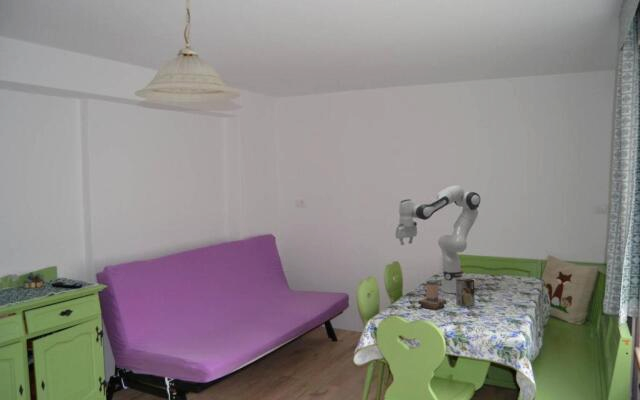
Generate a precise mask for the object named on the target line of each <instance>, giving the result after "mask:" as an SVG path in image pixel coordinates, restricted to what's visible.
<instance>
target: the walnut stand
mask: <svg viewBox="0 0 640 400" xmlns="http://www.w3.org/2000/svg"><path fill="white" fill-rule="evenodd" d="M446 304H447V300H446V299H439V298H438V301H435V302H431V301H427V300H426V298H423V299H420V300H418V305H420V308H422V309H423V308H424V309H428V310H434V311H436V310H439V309H442V308H444V306H445V305H446Z"/></svg>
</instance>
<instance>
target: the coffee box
mask: <svg viewBox="0 0 640 400" xmlns="http://www.w3.org/2000/svg"><path fill="white" fill-rule="evenodd" d="M455 294H456V295H455V296H456V305H457V306H459V307H461V308H465V307H474V306H476V305H475V303H476V302H475V301H476V300H475V299H476V298H475V280H474V279H472V278H468V277H467V278H464V279H456V293H455Z"/></svg>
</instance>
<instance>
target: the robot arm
mask: <svg viewBox="0 0 640 400" xmlns="http://www.w3.org/2000/svg"><path fill="white" fill-rule="evenodd" d="M453 203H454V204H455V205H457V206H458V207H462V210H461V212H460V215H459V216H458V218H457V219H456V221H455V222H454V224H453V232H452V234H451V235H450V234H445V235H441V236H440V237H439V238H438V241H437V242H438V246H439V248H440V250H441V253H442V259H443V278H441V279H442V280H441V287H440V288H439V289H440V290H441V292H442V293H447V294H456V279H465V277H463V275H464V271H463V270H461V259H460V258H459V255H458V253H463V252H465V251H466V249H467V246H468V244H467V238H468V234H469V232H470V231H471V229H472V228H473V225H474V224H475V223H476V220H477V218H478V214H479V210H478V208H479V207H480V204H481V196H480V194H478V193H477V192H475V191H464V189H463V187H462V186H461V185H459V184H453V185H451V186H448V187H445V188H443V189H442V190H440V191H438V192H437V194H436V200H435V201H432V202H430V203H429V204H421V203H420V204H419V203H417V202H415V201H413V200H412V199H408V198H407V199H404V200H401V201H400V202H399V210H398V213H399V224H397V226H396V229H395V238H396V239H397V240H399V242H400V245H401V246H404V245H405V241H404V239H407V238H408V239H409V240H408V244H410V245H411V244H413V240H414V237H417V234H418V227H417V225H418V223H417V222H416V221H414V219H419V220H423V221H425V220H429V219H430V218H431V217H432V216H433V215H434V214H435V213H436V212H438V211H440V210H441V209H443V208H444V207H446V206H448V205H449V206H450V205H451V204H453Z"/></svg>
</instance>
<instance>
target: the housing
mask: <svg viewBox="0 0 640 400" xmlns="http://www.w3.org/2000/svg"><path fill="white" fill-rule="evenodd" d="M425 283H426V285H425V286H426V293H425V294H426V297H425V299H426V300H427V301H431V302H435V301H438V299H439V280H433V279H429V280H426V281H425Z"/></svg>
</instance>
